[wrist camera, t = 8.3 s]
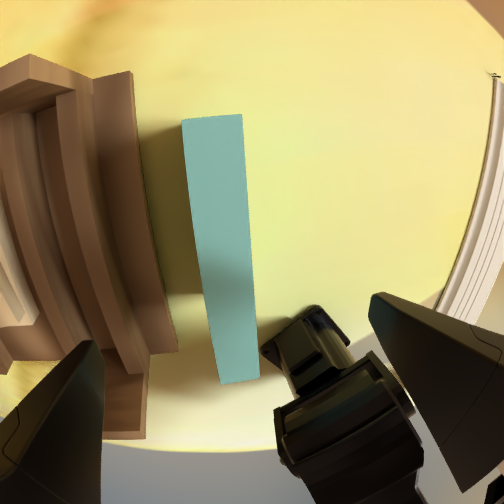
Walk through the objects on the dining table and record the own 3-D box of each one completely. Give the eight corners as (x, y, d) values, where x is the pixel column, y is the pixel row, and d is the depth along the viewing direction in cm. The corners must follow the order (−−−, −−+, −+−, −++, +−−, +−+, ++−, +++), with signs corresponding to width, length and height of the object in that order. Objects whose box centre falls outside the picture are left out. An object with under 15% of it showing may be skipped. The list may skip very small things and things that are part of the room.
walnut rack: (132, 74, 15) (86, 32, 6) (177, 341, 23) (181, 436, 15) (-58, 148, 12) (-133, 174, 4) (9, 352, 20) (-23, 421, 12)
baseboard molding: (412, 333, 30) (464, 325, 33) (425, 348, 28) (476, 336, 31) (483, 71, 19) (526, 114, 22) (504, 72, 16) (543, 118, 19)
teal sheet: (217, 120, 17) (241, 114, 9) (233, 288, 22) (260, 378, 14) (185, 123, 17) (181, 119, 9) (206, 292, 22) (220, 384, 14)
